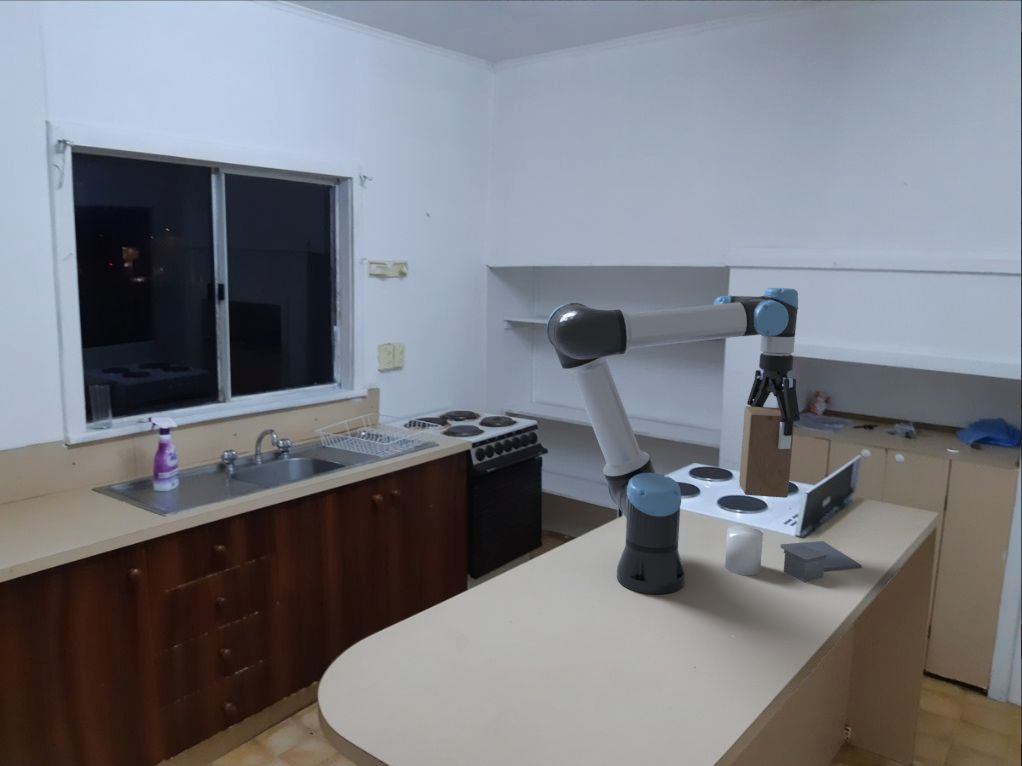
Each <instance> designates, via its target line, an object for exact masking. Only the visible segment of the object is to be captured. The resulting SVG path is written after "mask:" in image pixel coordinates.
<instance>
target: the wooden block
mask: <svg viewBox="0 0 1022 766" xmlns="http://www.w3.org/2000/svg"><path fill="white" fill-rule="evenodd" d="M781 420H782V416H781V412H780V409H779V407H771V406H770V407H768V406H765V407H764V406H763V407H751V406H750V405H747V406H745V407H744V414H743V425H742V426H743V428H742V429H743V430H742V437H741V438H742V440H741V451H740V452H741V453H740V454H741V455H740V467H739V481H738V482H739V485H740V487H741V489H742V491H743V493H744V495H745V496H754V497H755V496H756V497H769V498H771V497H772V498H773V497H774V498H788V496H789V487H790V473H791V464H792V452H793V441H794V428H795V421H794V422H793V428H792V435H791V446H790V449H779V448H778V443H779V431H780V421H781Z"/></svg>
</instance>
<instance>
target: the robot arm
mask: <svg viewBox="0 0 1022 766" xmlns="http://www.w3.org/2000/svg"><path fill="white" fill-rule="evenodd" d="M798 310H799V292H798V290H796V289H795V288H791V287H790V288H789V287H786V288H785V287H767V288H766V289H765V291H764V294H763V295H761V296H749V295H747V296H746V295H723V296H721V295H720V296H718V297H717V298H716V299H715V300H714V301H713V304H708V305H699V306H689V307H677V308H668V309H659V310H647V311H637V312H629V313H628V312H627V313H626V312H625V311H624V310H623V309H598V308H592V307H588V306H587V305H585V304H583V303H580V302H570V303H565V304H562V305H560V306H558V307H557V308H555V309H554V310H553V311H552V312H551V314H550V315H549V317H548V319H547V323H546V336H547V339H548V341H549V343H550V344H551V345H552V346H553V347H554V351H555V353H556V355H557V358H558V360H559V362H560V364H561V368H562V370H564V371H566V372H568V373H570V374H571V376H572V378H573V381H574V384H575V385H576V388H577V391H578V394H579V396H580V398H581V401H582V403H583V406H584V409H585V411H586V414H587V416H588V420H589V421H590V424H591V426H592V430H593V432H594V434H595V437H596V439H597V441H598V445H599V447H600V450H601V452H602V455H603V458H604V460H605V465H604V467H603V469H602V472H603V475H604V477H605V480H606V482H607V491H608V493H609V494H608V495H609V496H610V498H611V500H612V501H613V503H614V504H615V505H616V506H617V507H618V509H619V510H620V511H621V513H622V514H623V516H624V517H625V518H626V522H625V523H626V525H625V527H626V528H625V546H624V548H623V551H622V554H621V557H620V558H619V561H618V564H617V567H616V579H617V582H619V583H620V585H622V586H623V587H625V588H627V589H629V590H630V591H634V592H638V593H643V594H649V595H664V594H669V593H670V594H671V593H675V592H677V591H679V590H680V589H682V588H683V587H684V585H685V578H686V577H685V573H686V572H685V570H684V566H683V562H682V559H681V555H680V552H679V551H680V550H679V538H680V537H679V535H680V519H681V518H680V517H681V505H682V496H681V495H682V494H681V487H680V485H679V483H678V482H677V481H676V480H675V479H673V478H672V477H670V476H665V475H664V474H662V473H657V472H656V470H655V467H654V465H653V462H652V459H651V457H650V454H649V453H647V452H645V451H643V450H641V449H640V446H639V444H638V440H637V438H636V435H635V433H634V430H633V428H632V424H631V422H630V420H629V417H628V414H627V412H626V409H625V406H624V404H623V402H622V398H621V396H620V393H619V390H618V388H617V386H616V382H615V380H614V378H613V375H612V372H611V370H610V367H609V364H608V362H607V358H608V357H611V356H619V355H625V354H626V353H627V352H628V351H629V350H631V349H637V348H638V349H639V348H646V347H655V346H656V347H657V346H665V345H673V344H676V345H677V344H682V343H692V342H701V341H710V340H712V341H713V340H718V339H720V340H722V339H728V338H736V337H737V338H738V337H751V336H760V335H761V336H760V337H761V339H760V348H759V350H760V352H762V353H761V354H759V364H758V365H759V366H758V368H759V369H758V370H757V369H756V370H755V372H754V380H753V383H752V386H751V388H750V389H751V390H750V393H749V396H748V399H747V402H746V403H747V406H750V407H764V405H765V404H766V401H767V400H768V398H769V396H770V395H771V393H772V394H773V397H775V399H776V402H777V405H778V408H779V409H780V412H781V416H782V420H781V421H780V431H779V443H778V448H779V449H790V446H791V435H792V428H793V422H794V423H795V422H799V421H800V420H801V418H800V417H801V416H800V411H799V403H798V394H797V389H796V384H797V381H796V380H797V379H796V378H789V377H788V372H791V371H793V366H794V355H793V353H794V352H795V342H796V340H795V338H796V329H797V317H798Z"/></svg>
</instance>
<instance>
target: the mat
mask: <svg viewBox="0 0 1022 766" xmlns="http://www.w3.org/2000/svg"><path fill="white" fill-rule="evenodd" d="M802 545H805V546H807V547H809V548H812V549H814V550H816V551H819V552H821V553H823V554H825V555H826V558H824V570H823V572H824V571H834V570H847V569H857V568H858V569H859V568H860V569H861V568H862V564H860V563H859V562H857V561H856V560H854V559H852V558H851V557H850V556H848V555H846V554H845V553H843V552H842V551H840V550H838V549H836V548H835V547H833V546H832V545H830V544H829V543H827V542H825V540H824V541H823V540H819V541H805V542H793V543H782V544H780V547H781V548H782V549H783V550H785V549H789V548H793V547H797V546H802Z"/></svg>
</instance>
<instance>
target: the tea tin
mask: <svg viewBox="0 0 1022 766" xmlns="http://www.w3.org/2000/svg"><path fill="white" fill-rule="evenodd" d="M783 553H784V560H783V561H784V563H783V573H785V574H786V575H789V576H791V577H792V576H793V578H794V577H795V579H796V578H797V580H798V581H800V580H801V581H800V582H802V581H803V582H802V583H807V582H810V581H813V580H818V579H821V578H823V577H824V571H823V570H824V558H826V555H825V554H823V553H821V552H819V551H816V550H814V549H812V548H809V547H807V546H805V545H802V546H797V547H793V548H789V549H783Z"/></svg>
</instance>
